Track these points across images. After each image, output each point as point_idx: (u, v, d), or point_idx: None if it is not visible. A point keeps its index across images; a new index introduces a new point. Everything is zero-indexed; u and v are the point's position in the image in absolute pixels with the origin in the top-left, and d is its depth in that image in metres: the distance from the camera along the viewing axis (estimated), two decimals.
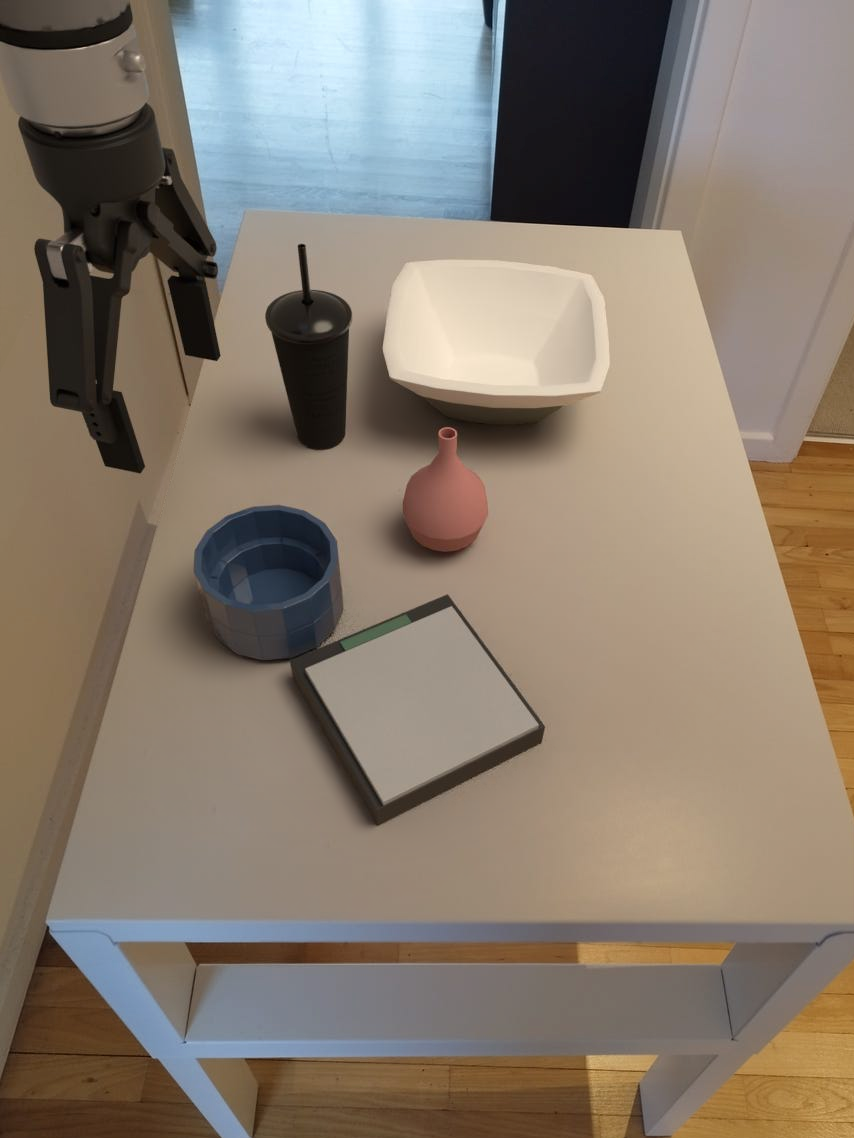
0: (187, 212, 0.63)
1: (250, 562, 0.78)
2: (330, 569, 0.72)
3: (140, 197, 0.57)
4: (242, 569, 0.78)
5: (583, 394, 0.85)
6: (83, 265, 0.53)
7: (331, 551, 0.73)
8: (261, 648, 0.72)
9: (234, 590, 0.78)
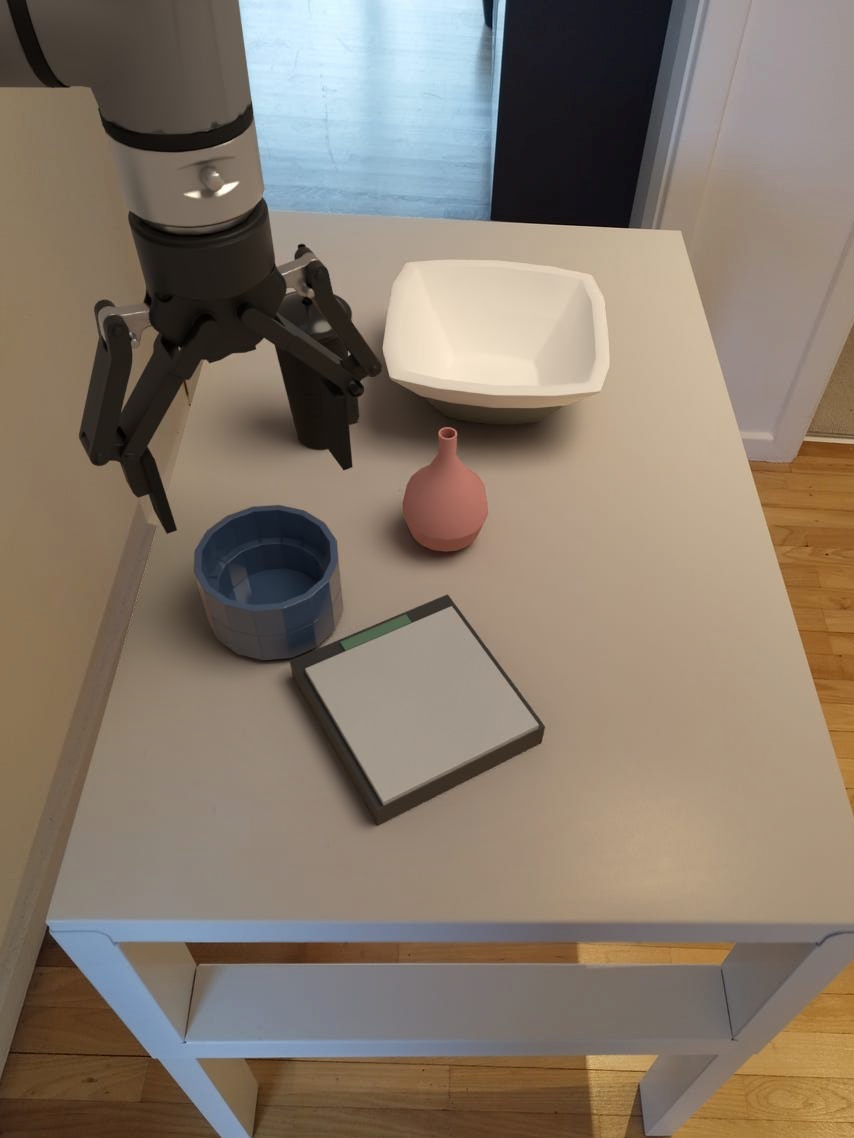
0: (335, 328, 0.59)
1: (250, 562, 0.78)
2: (330, 569, 0.72)
3: (248, 299, 0.54)
4: (242, 569, 0.78)
5: (583, 394, 0.85)
6: (123, 340, 0.52)
7: (331, 551, 0.73)
8: (261, 648, 0.72)
9: (234, 590, 0.78)
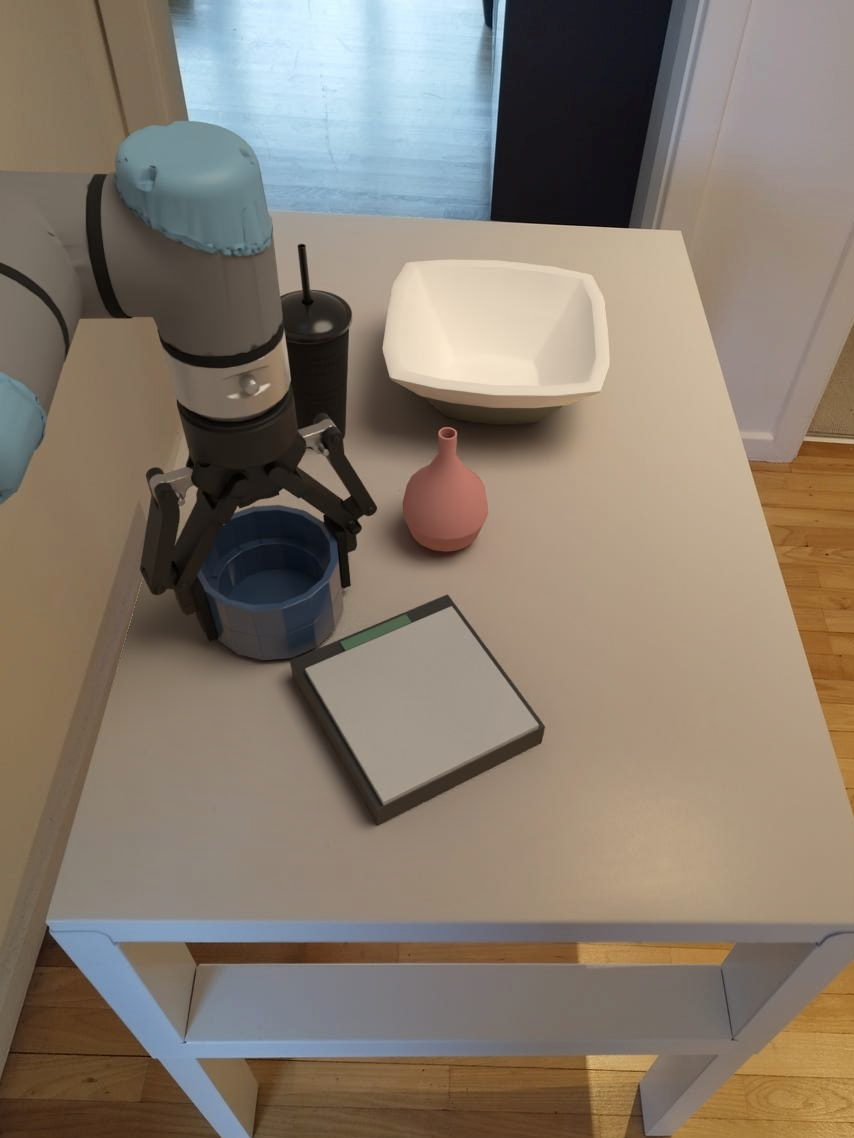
0: (342, 479, 0.69)
1: (250, 562, 0.78)
2: (330, 569, 0.72)
3: (274, 459, 0.64)
4: (242, 569, 0.78)
5: (583, 394, 0.85)
6: (171, 501, 0.62)
7: (331, 551, 0.73)
8: (261, 648, 0.72)
9: (234, 590, 0.78)
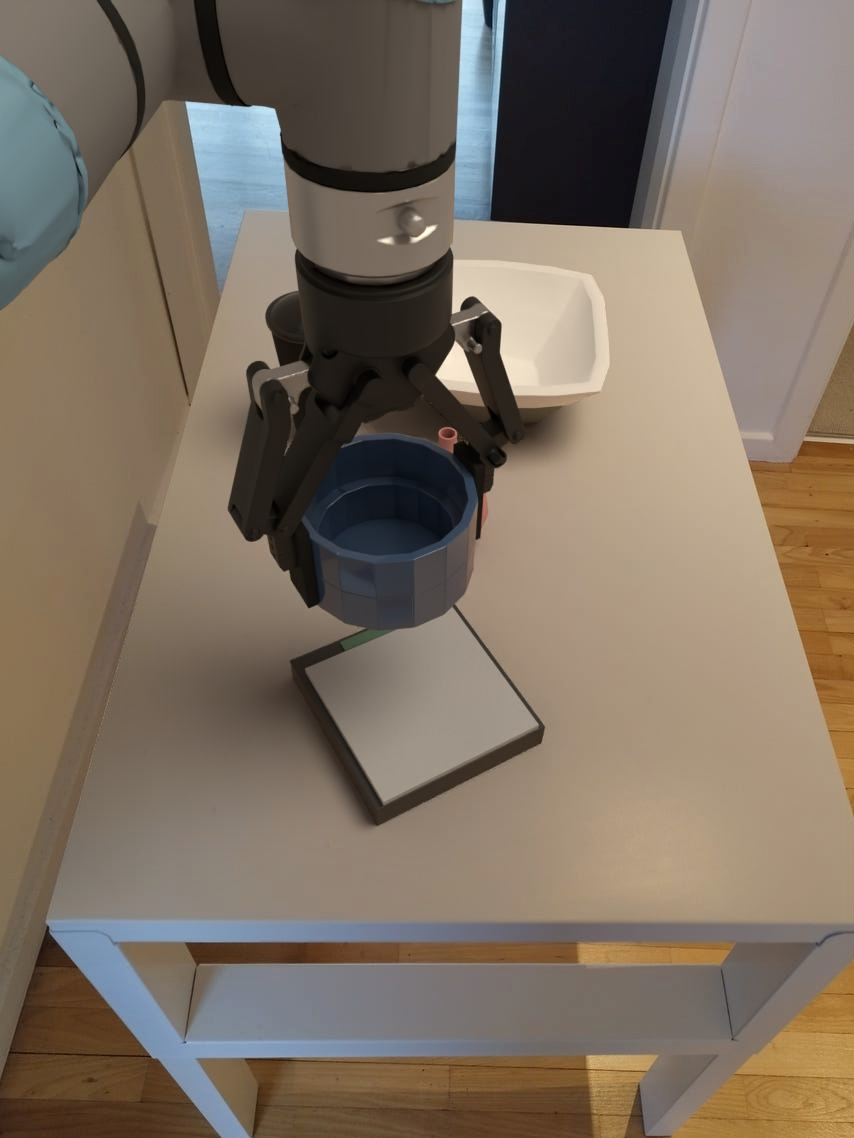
0: (492, 389, 0.52)
1: (353, 508, 0.61)
2: (469, 510, 0.55)
3: (415, 353, 0.47)
4: (343, 518, 0.61)
5: (583, 394, 0.85)
6: (281, 406, 0.45)
7: (467, 489, 0.56)
8: (378, 615, 0.56)
9: None
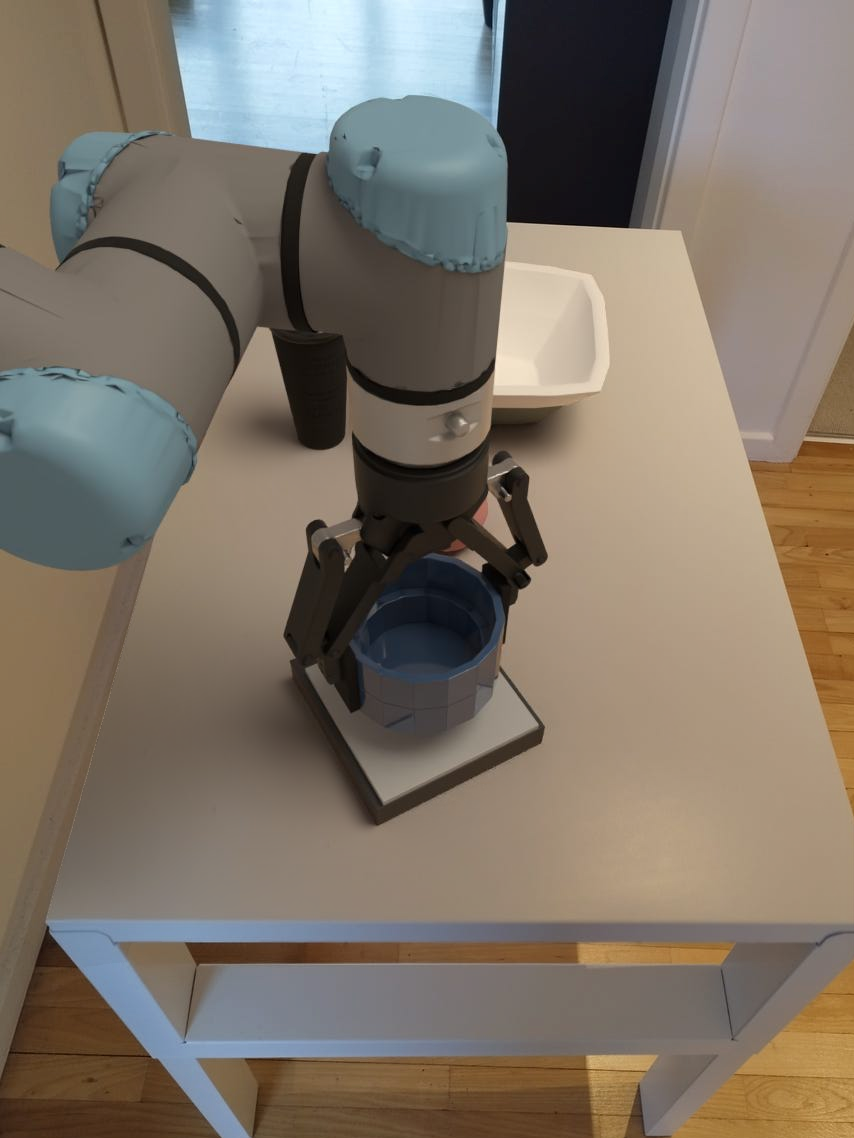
0: (519, 527, 0.58)
1: (389, 616, 0.67)
2: (497, 630, 0.61)
3: None
4: (380, 625, 0.67)
5: (583, 394, 0.85)
6: (337, 561, 0.51)
7: (495, 608, 0.62)
8: (414, 722, 0.62)
9: (370, 648, 0.67)
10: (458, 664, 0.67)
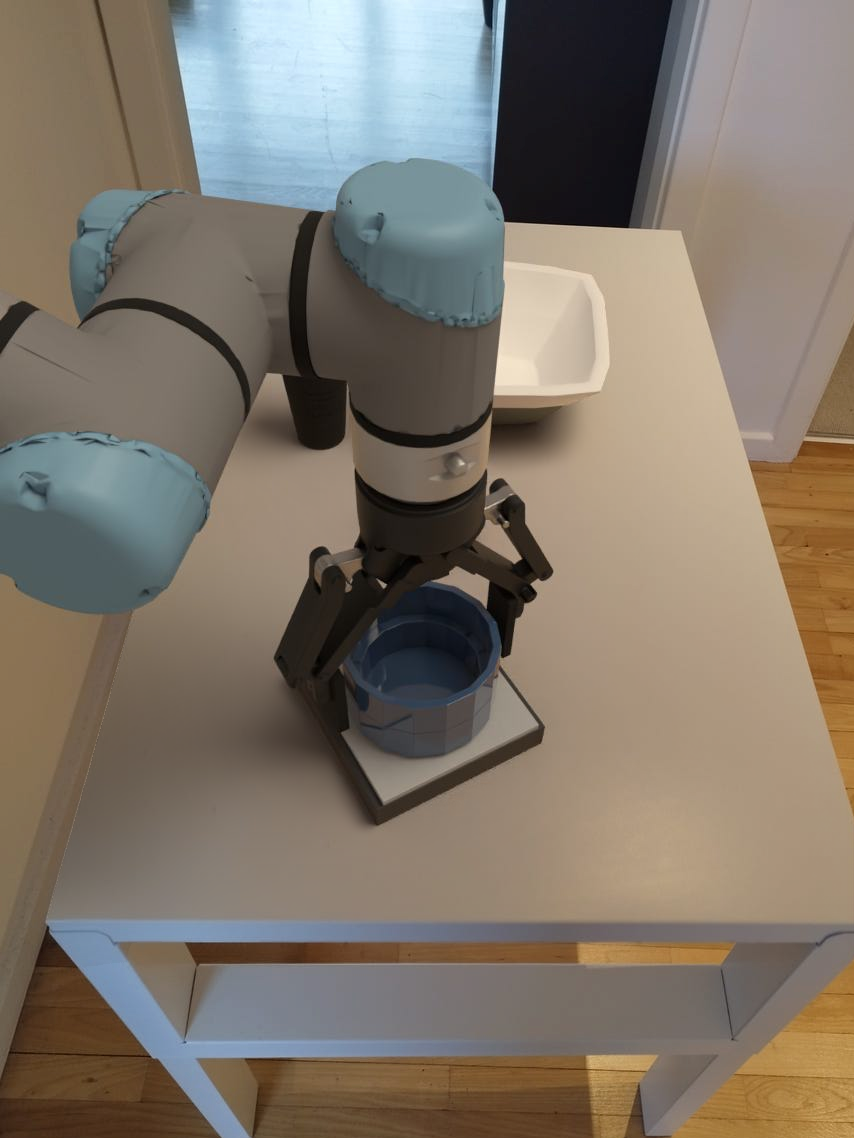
0: (520, 548, 0.60)
1: (390, 641, 0.70)
2: (494, 657, 0.64)
3: None
4: (381, 650, 0.70)
5: (583, 394, 0.85)
6: (339, 587, 0.53)
7: (492, 635, 0.65)
8: (414, 745, 0.64)
9: (372, 672, 0.70)
10: (456, 688, 0.69)
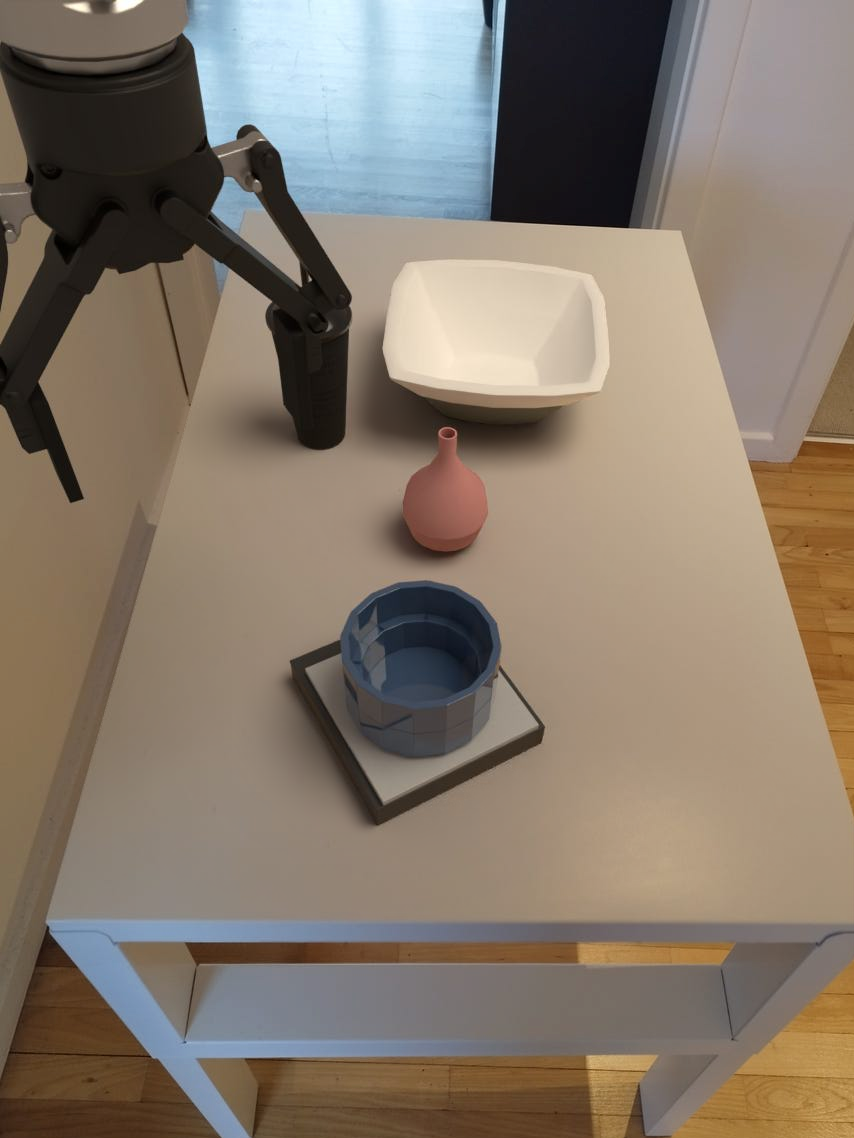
0: (290, 239, 0.45)
1: (390, 641, 0.70)
2: (494, 657, 0.64)
3: (170, 186, 0.40)
4: (381, 650, 0.70)
5: (583, 394, 0.85)
6: None
7: (492, 635, 0.65)
8: (414, 745, 0.64)
9: (372, 672, 0.70)
10: (456, 688, 0.69)
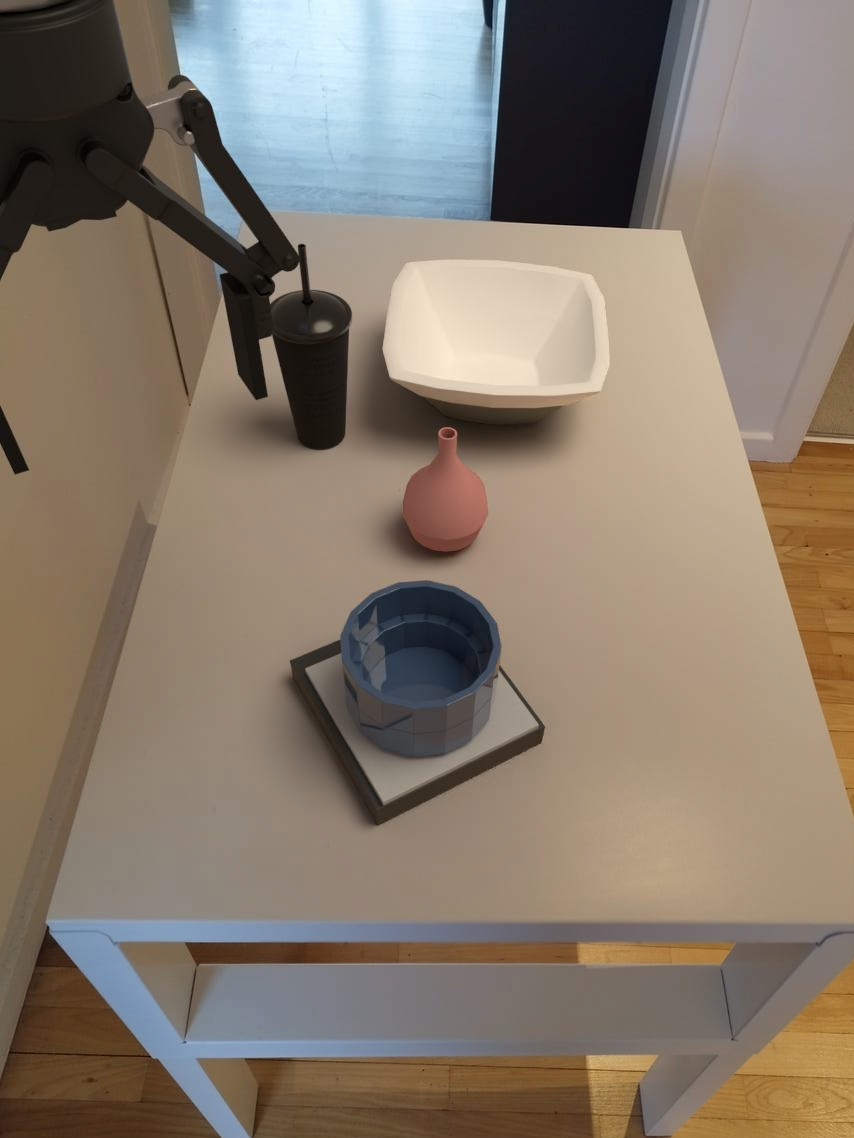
0: (229, 195, 0.44)
1: (390, 641, 0.70)
2: (494, 657, 0.64)
3: (96, 138, 0.39)
4: (381, 650, 0.70)
5: (583, 394, 0.85)
6: None
7: (492, 635, 0.65)
8: (414, 745, 0.64)
9: (372, 672, 0.70)
10: (456, 688, 0.69)
